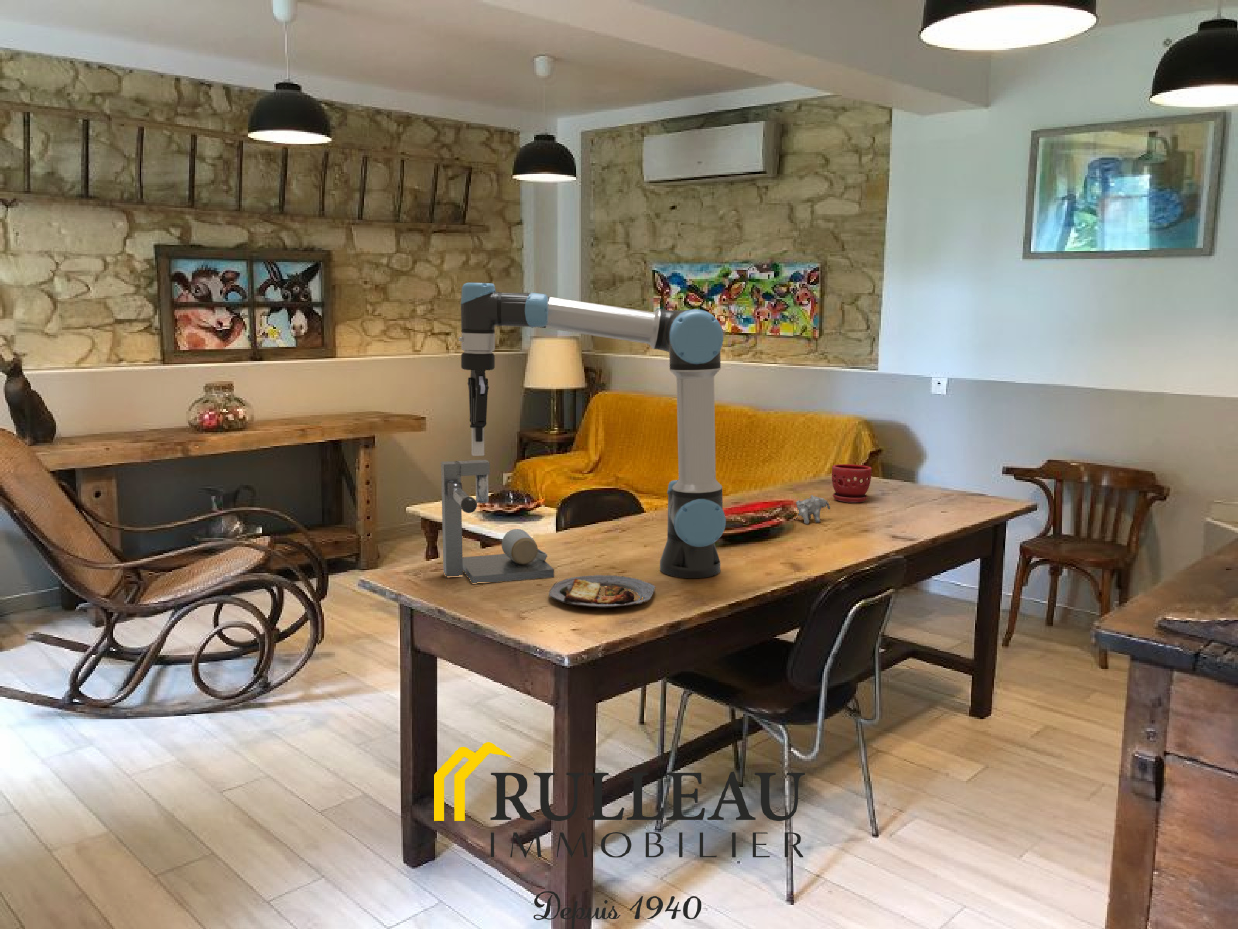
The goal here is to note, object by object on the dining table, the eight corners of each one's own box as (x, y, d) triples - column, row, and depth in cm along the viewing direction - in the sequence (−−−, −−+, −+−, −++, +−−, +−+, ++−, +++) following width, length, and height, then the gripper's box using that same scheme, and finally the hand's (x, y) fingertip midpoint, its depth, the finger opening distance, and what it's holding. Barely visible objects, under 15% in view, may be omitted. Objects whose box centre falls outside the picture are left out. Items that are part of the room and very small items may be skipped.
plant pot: (874, 504, 324) (876, 469, 322) (834, 504, 325) (836, 469, 323) (865, 496, 337) (866, 462, 335) (827, 496, 337) (828, 462, 335)
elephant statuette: (787, 522, 299) (788, 498, 298) (810, 514, 307) (811, 490, 306) (812, 527, 293) (812, 503, 291) (835, 519, 301) (836, 495, 299)
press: (553, 577, 236) (553, 463, 231) (451, 586, 228) (449, 469, 223) (534, 558, 253) (534, 452, 248) (438, 567, 244) (436, 457, 240)
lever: (478, 514, 212) (478, 497, 212) (462, 516, 211) (462, 498, 210) (460, 497, 232) (460, 480, 231) (445, 497, 230) (445, 481, 230)
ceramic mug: (511, 567, 237) (511, 536, 236) (501, 559, 244) (501, 529, 243) (552, 563, 241) (552, 533, 240) (540, 555, 249) (541, 526, 247)
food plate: (645, 617, 206) (645, 601, 206) (539, 612, 210) (539, 596, 210) (659, 587, 231) (659, 572, 230) (564, 583, 235) (564, 569, 234)
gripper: (456, 350, 224) (457, 451, 228) (466, 353, 211) (466, 460, 215) (489, 350, 226) (488, 450, 230) (500, 353, 214) (499, 459, 218)
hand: (477, 455), depth 223 cm, fingers closed
